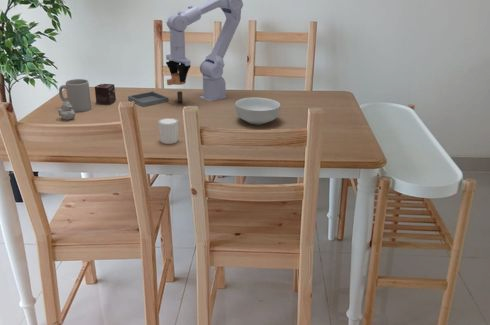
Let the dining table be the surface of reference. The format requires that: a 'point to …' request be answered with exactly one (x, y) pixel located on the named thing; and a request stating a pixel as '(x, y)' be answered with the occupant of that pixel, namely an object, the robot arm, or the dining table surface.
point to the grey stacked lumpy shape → (66, 111)
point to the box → (105, 94)
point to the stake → (180, 100)
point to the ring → (175, 80)
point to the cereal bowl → (257, 110)
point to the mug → (77, 94)
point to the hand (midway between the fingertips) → (178, 80)
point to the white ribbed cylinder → (168, 130)
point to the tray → (148, 99)
